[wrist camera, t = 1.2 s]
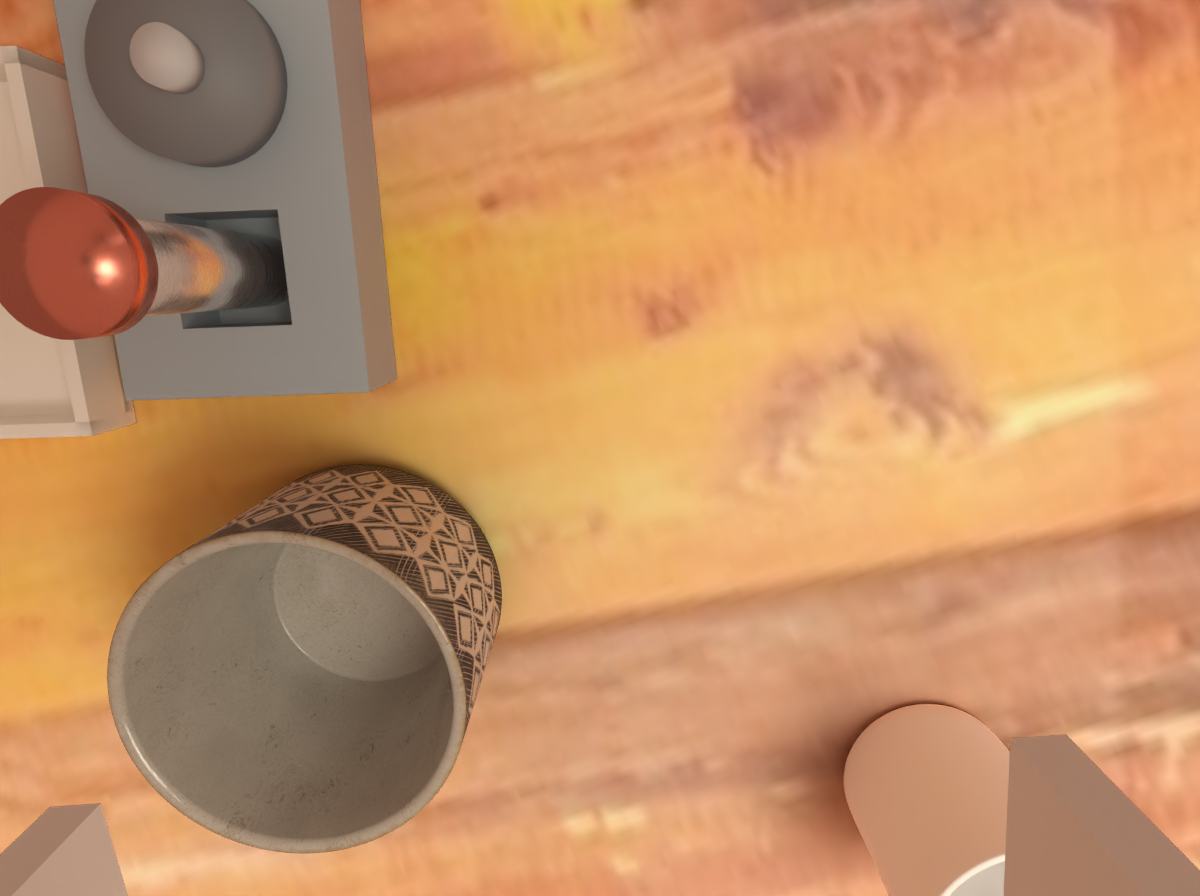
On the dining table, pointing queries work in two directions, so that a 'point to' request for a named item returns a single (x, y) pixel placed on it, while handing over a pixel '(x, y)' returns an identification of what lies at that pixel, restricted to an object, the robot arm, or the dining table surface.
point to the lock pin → (122, 266)
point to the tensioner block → (241, 181)
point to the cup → (931, 801)
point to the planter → (310, 661)
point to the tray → (3, 345)
